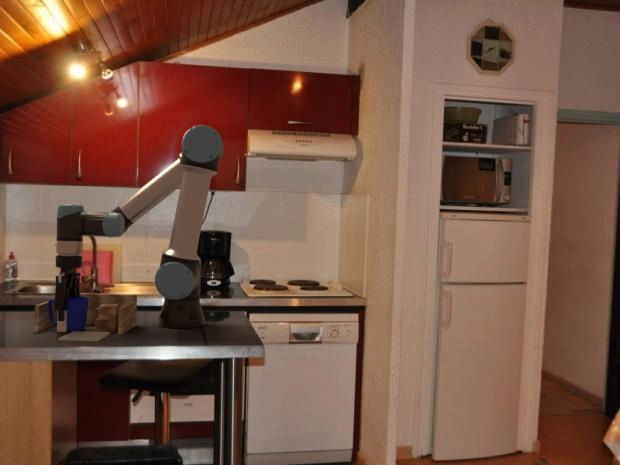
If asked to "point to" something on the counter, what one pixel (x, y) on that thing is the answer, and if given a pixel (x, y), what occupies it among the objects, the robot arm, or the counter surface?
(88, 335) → the sage tile
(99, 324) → the offcut walnut
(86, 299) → the mug
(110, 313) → the offcut oak
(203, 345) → the counter surface
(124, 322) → the rack
